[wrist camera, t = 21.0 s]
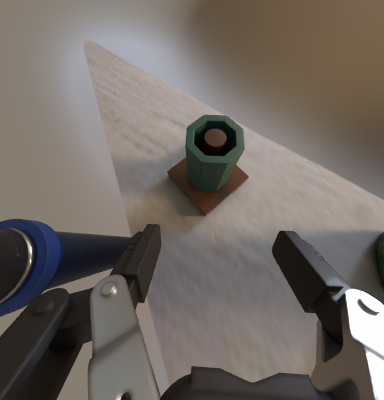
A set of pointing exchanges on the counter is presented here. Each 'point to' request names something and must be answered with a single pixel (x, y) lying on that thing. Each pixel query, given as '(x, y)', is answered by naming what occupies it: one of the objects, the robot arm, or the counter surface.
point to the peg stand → (208, 200)
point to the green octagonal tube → (212, 165)
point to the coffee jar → (381, 254)
